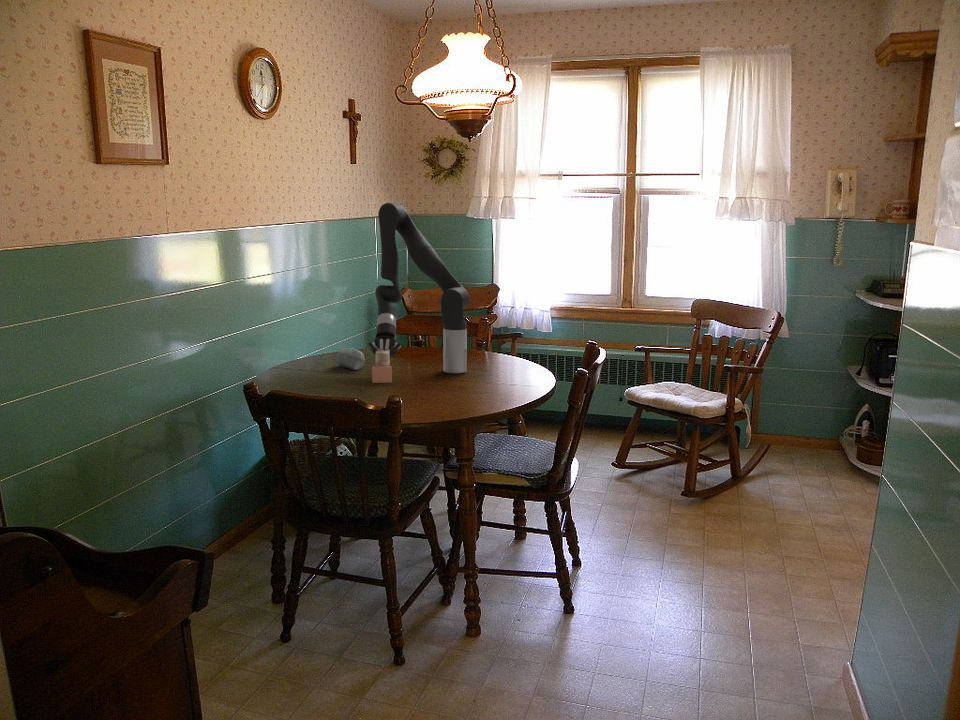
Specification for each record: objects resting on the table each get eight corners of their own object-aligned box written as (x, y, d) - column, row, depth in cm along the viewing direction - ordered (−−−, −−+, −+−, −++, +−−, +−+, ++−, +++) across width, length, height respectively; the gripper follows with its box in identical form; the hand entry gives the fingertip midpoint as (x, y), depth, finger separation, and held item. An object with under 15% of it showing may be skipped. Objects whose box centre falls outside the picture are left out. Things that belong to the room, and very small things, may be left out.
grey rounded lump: (327, 359, 311) (339, 337, 310) (345, 366, 318) (357, 345, 317) (342, 373, 301) (355, 351, 301) (360, 380, 308) (373, 359, 307)
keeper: (389, 378, 292) (389, 351, 290) (388, 380, 288) (388, 353, 286) (377, 378, 292) (376, 351, 289) (376, 380, 288) (375, 353, 286)
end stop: (391, 381, 288) (391, 366, 286) (391, 382, 286) (391, 366, 285) (372, 381, 287) (372, 366, 286) (372, 382, 286) (372, 366, 285)
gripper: (368, 321, 297) (364, 359, 288) (402, 322, 298) (400, 359, 288) (370, 332, 304) (366, 370, 294) (403, 333, 304) (401, 370, 294)
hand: (383, 364), depth 291 cm, fingers closed
